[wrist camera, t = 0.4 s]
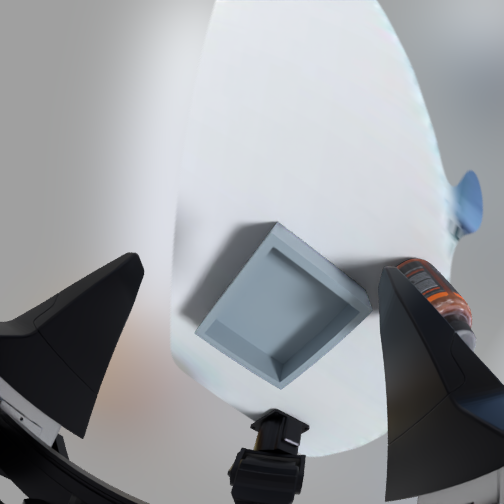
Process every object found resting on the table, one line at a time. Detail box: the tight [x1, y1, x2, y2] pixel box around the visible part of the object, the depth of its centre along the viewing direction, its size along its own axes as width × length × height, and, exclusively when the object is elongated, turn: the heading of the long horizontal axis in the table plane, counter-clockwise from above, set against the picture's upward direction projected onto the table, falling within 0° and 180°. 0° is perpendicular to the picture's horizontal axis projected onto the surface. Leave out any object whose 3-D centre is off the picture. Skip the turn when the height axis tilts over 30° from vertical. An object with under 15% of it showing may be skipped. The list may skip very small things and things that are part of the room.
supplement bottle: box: [396, 259, 476, 352], centre depth 19 cm, size 6×6×11 cm
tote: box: [195, 222, 372, 389], centre depth 26 cm, size 13×11×4 cm
